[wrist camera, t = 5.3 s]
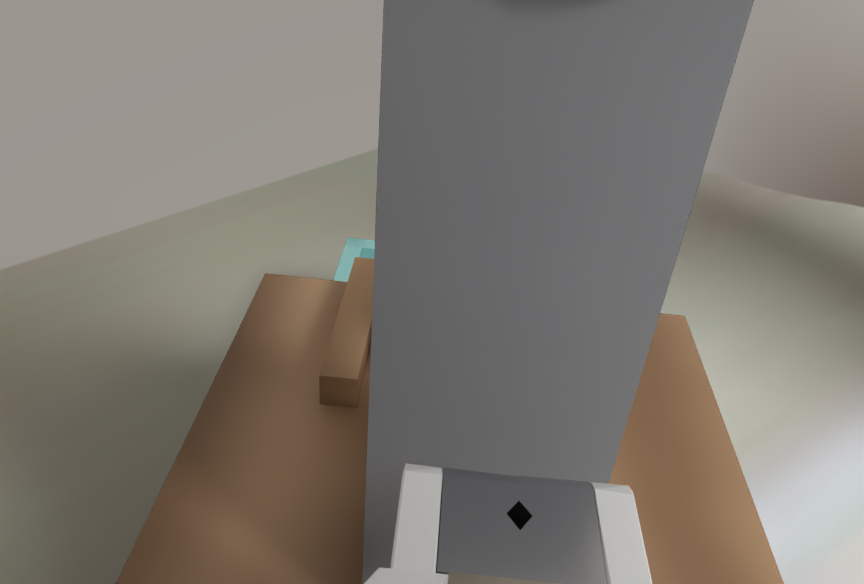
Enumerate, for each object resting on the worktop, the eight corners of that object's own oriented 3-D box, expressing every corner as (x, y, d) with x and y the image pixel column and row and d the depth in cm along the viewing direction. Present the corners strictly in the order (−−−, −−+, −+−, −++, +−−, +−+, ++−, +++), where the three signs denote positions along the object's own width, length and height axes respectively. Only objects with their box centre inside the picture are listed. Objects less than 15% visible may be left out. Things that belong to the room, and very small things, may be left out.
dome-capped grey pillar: (551, 502, 17) (713, -155, 10) (564, 649, 14) (806, -136, 7) (382, 484, 17) (418, -181, 10) (358, 626, 14) (385, -173, 7)
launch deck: (619, 515, 30) (692, 290, 24) (698, 965, 19) (879, 750, 12) (277, 479, 30) (263, 247, 24) (143, 902, 19) (52, 660, 13)
